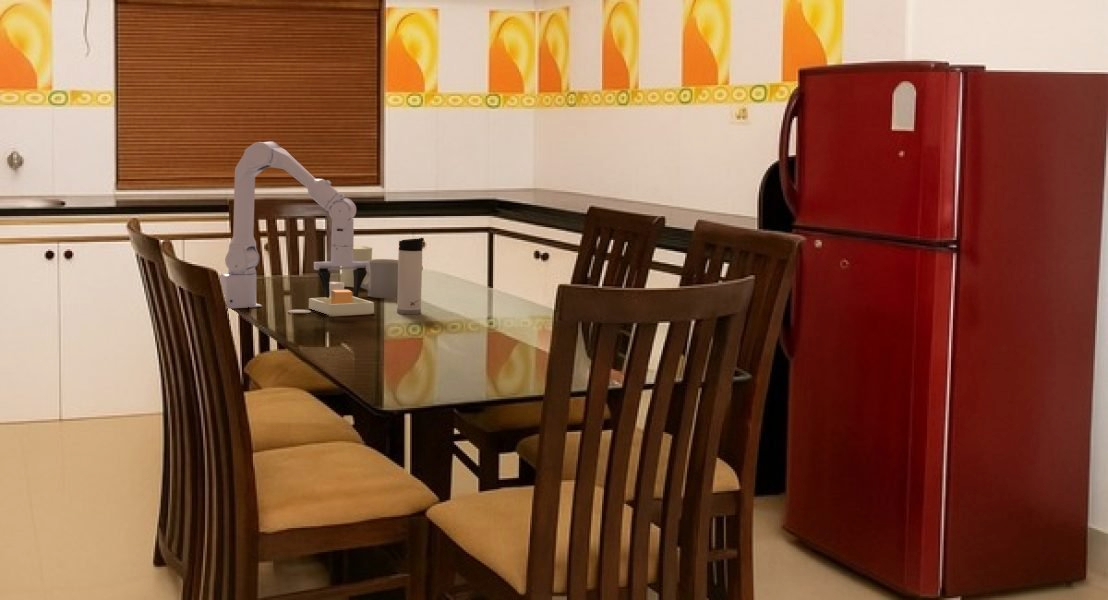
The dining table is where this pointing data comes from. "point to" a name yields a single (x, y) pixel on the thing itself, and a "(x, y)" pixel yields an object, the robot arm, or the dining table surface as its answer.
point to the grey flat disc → (299, 311)
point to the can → (358, 255)
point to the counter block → (341, 296)
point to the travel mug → (409, 276)
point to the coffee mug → (382, 278)
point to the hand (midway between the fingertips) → (341, 297)
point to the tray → (341, 307)
